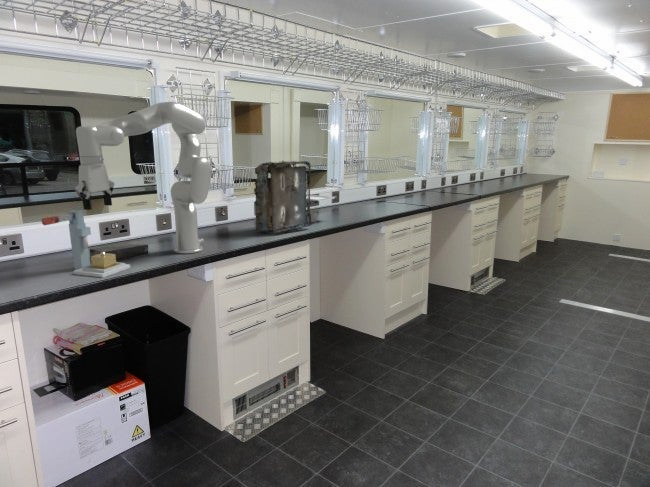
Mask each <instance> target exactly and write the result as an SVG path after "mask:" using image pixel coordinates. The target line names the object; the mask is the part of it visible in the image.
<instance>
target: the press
mask: <svg viewBox="0 0 650 487" xmlns="http://www.w3.org/2000/svg"><path fill="white" fill-rule="evenodd" d="M72 213H75V218H76V219H73V220H68V222H69V223H68V229H69V238H70V243H71V252H72V259H73V266H74V267H73V268H74V270H73V271H72V272H73V275H78V276H79V275H80V276H87V277H88V276H89V277H94V278H95V277H96V278H105V277H109V276H110V275H115V273H116V274H117V273H119V272H122V271H125V270H127V269H130V268H131V264H129V263H125V262H118V261H116V266H113V267H110V268H107V269H104V270H103V269H94V268H92V264H91V258H90V248H89V240H88V236H90V235H92V232H91V227H90V226H86V225H87V224H86V222H85V216H84V210H83V209H82V210H81V209H80V210H76V209H72V210H67V214H72Z"/></svg>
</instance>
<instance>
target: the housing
mask: <svg viewBox="0 0 650 487" xmlns="http://www.w3.org/2000/svg"><path fill="white" fill-rule="evenodd" d="M116 262H117V261H116V256H115V254H109V253H105V252H101V254H98V255H94V256H91V258H90V264H91V265H92V268H94V269H103V270H104V269H107V268H110V267H113V266H116Z"/></svg>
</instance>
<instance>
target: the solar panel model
mask: <svg viewBox="0 0 650 487" xmlns="http://www.w3.org/2000/svg"><path fill="white" fill-rule="evenodd" d="M306 195H307V196H306V201H307V197H308V193H306ZM334 199H336V196H329V195H327V196H326V195H318V194H316V195H315V194H310V202H313V201H314V202H321V201H329V200H334ZM307 212H308V211H307V210H306V213H307ZM310 214H311V223H315V222H317V221H318V212H317V211H314V210H310ZM307 223H309V216H308V214H307Z"/></svg>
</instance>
